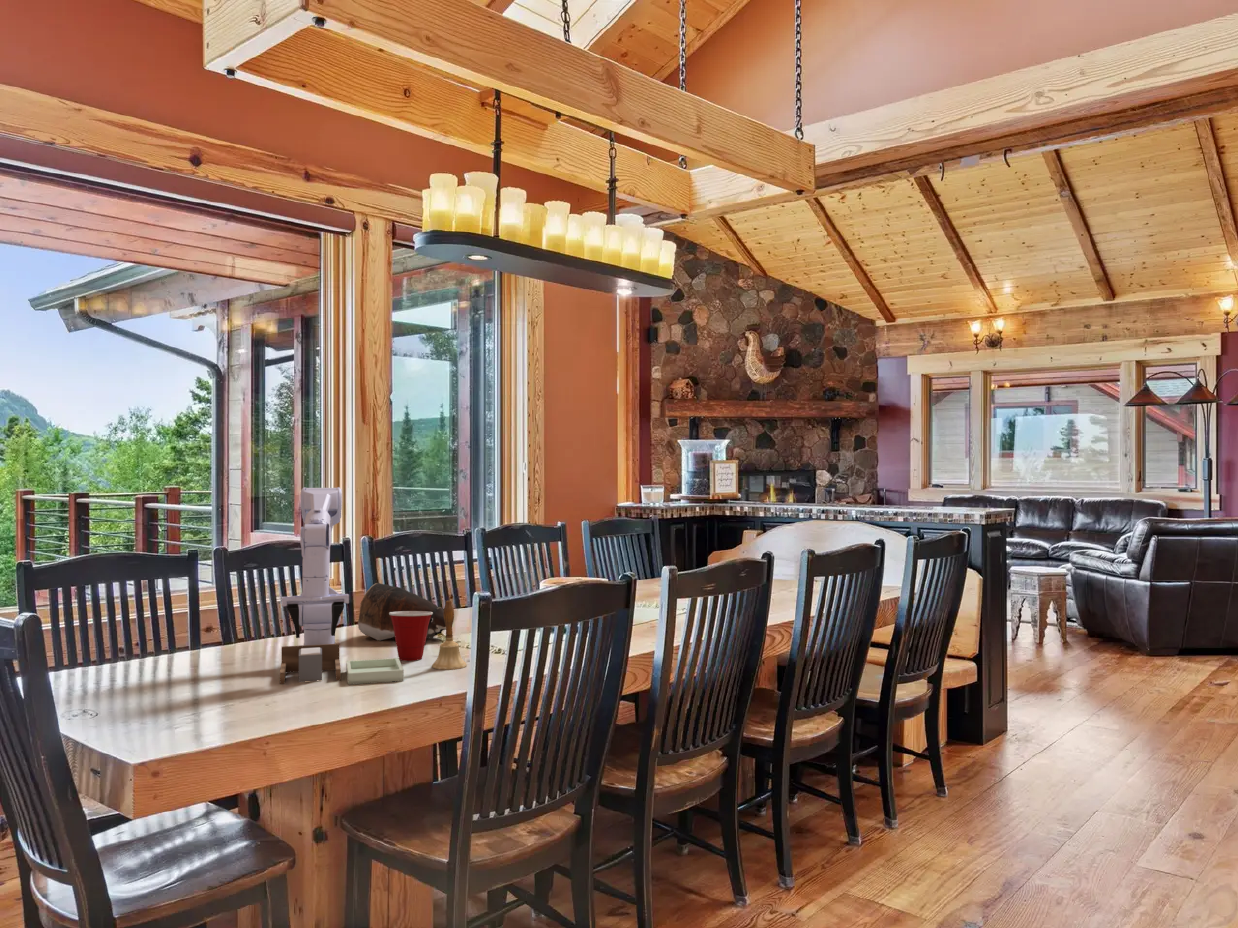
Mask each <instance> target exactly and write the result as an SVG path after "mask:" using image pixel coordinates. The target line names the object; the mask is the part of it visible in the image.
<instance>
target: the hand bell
mask: <svg viewBox="0 0 1238 928" xmlns="http://www.w3.org/2000/svg"><path fill="white" fill-rule="evenodd" d="M443 609H444V621H445V625H446V630H445V641H444V642H442V643H440V646H439V651H438V656H437V658H436V660H435V661H434V662H433V663H432V665H431V667H432V669H435V670H440V671H453V670H461V669H463V668H467V662H465V661H464V660H463V657H462V655H461V651H460V646H459V644H458V642H455V640H454V637H453V636H454V635H453V633H454V632H453V624H454V621H455V609H454V606H453V601H452V600H451V599H450V600H446V601H445V604H444V608H443Z"/></svg>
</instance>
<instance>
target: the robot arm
mask: <svg viewBox="0 0 1238 928" xmlns="http://www.w3.org/2000/svg"><path fill="white" fill-rule="evenodd" d="M342 492H343V490H342V488H341V487H340V486H337V487H302V488H301V489H300V510H301V518H302V521H303V522H302V523H304V525H303V526H301V527H300V537H299V539H300V543H299V544H300V547H301V549H300V550H301V557H302V592H301V593H300V595H292V596H289V595H288V596H281V606H282V607H286V609H287V611H288V613H289V615H290V618H291V620H292V623H293V627H294V631H295V637H296V639H300V637H301V636H300V634H301V633H300V632H301V631H300V627H302V629H303V645H320V644H336V631H337V626H339V624H341V615H342V613H343V610H345V609H344V608H345V604H349V603H350V594H349V593H339V592H338V591H336V590H335V589H334V588H332V587H331V586H330V566H331V565H330V564H331V563H330V561H331V560H330V559H331V545H332V531H333V527H334V526H335V525H337V524H339V523H340V522H341V518H342V510H343V509H342V508H343V507H342V506H343V493H342Z"/></svg>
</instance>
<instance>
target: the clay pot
mask: <svg viewBox="0 0 1238 928" xmlns="http://www.w3.org/2000/svg"><path fill="white" fill-rule="evenodd" d="M359 606H360V607H359V614H358V619H357V626H358V627H357V628H358V630H359V631H360V633H361V634H363V635H365V636H368V637H369V638H372V639H374V640H377V641H378V640H380V641H384V640H388V639H391V638H395V635H394V628H393V624H392V619H391V616H390V615H389V613H390V612H398V611H426V612H433V614H432V615H431V617H430V620H429V624H428V630H427V636H426V639H434V637H436V636H437V635H440V634H442V633H443V631H446V625H445V621H444V608H443V607H441V606H438V605H436V604H435V603H433V601H431V600H428V599H426V598H423V597H420V596H419V595H418V594H416V593H414V592H411V591H408V590H406V589H404V588H403V587H398V586H393V585H390V584H384V583H382V582H376V583H374V584H373V585H371V586H370V587H369V588H368V589H367V591H366V592H365V594H364V595H363V597H362V600H361V602H360V605H359Z"/></svg>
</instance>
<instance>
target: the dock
mask: <svg viewBox="0 0 1238 928" xmlns="http://www.w3.org/2000/svg"><path fill="white" fill-rule="evenodd" d="M318 647H320V648H322V671H333V670H334V674H335V675H334V676H335V681H336V680H337V681H341V680H342V679H341V677H342V675H341V674H342V673H341V672H342V671H341V670H342V669H341V660H340V643H335V644H320V645H304V644H303V645H287V646H286V645H285V646H284V645H283V646H281V661H280V662H281V663H280V670H279V685H285V682H286V676H287V673H289V674H290V673H299V649H301V648H318Z"/></svg>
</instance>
